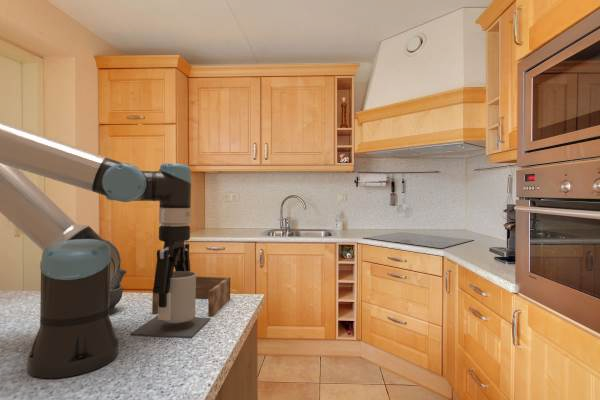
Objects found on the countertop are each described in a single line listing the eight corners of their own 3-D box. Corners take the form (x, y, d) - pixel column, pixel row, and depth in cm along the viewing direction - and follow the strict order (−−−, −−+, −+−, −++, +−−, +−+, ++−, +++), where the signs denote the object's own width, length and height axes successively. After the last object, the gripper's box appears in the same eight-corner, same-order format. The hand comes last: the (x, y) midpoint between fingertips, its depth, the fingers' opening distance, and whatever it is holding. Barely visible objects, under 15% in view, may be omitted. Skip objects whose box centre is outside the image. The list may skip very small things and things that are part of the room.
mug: (201, 317, 88) (202, 274, 88) (169, 326, 82) (170, 279, 82) (179, 307, 97) (179, 267, 97) (148, 313, 91) (148, 271, 91)
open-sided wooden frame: (212, 316, 97) (212, 291, 97) (152, 313, 98) (152, 289, 98) (230, 298, 115) (230, 277, 115) (178, 296, 116) (179, 275, 116)
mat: (191, 338, 82) (191, 336, 82) (130, 335, 83) (130, 333, 83) (210, 319, 95) (210, 317, 95) (157, 317, 96) (157, 315, 96)
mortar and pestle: (92, 320, 92) (93, 275, 92) (76, 313, 98) (77, 270, 98) (133, 310, 101) (134, 269, 101) (117, 304, 107) (117, 265, 107)
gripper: (169, 228, 78) (167, 329, 77) (204, 222, 99) (202, 301, 99) (137, 227, 78) (135, 328, 78) (178, 222, 100) (177, 300, 100)
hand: (173, 313), depth 89 cm, fingers closed on mug, 9 cm apart
